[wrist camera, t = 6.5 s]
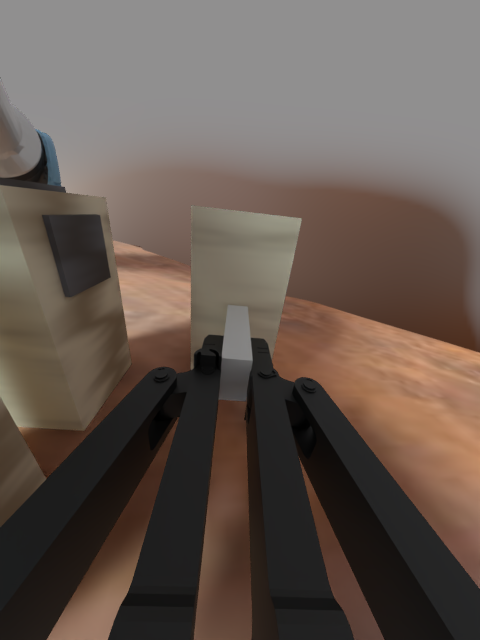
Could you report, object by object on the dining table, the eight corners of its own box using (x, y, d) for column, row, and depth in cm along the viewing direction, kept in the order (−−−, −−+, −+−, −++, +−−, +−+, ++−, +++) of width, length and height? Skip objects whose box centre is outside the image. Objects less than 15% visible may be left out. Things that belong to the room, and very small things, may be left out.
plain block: (202, 339, 25) (206, 209, 19) (259, 344, 26) (281, 218, 20) (190, 379, 19) (191, 205, 13) (266, 385, 20) (301, 218, 13)
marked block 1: (58, 356, 20) (-3, 179, 14) (136, 362, 21) (112, 193, 14) (-27, 423, 14) (-217, 149, 7) (88, 431, 14) (5, 176, 8)
